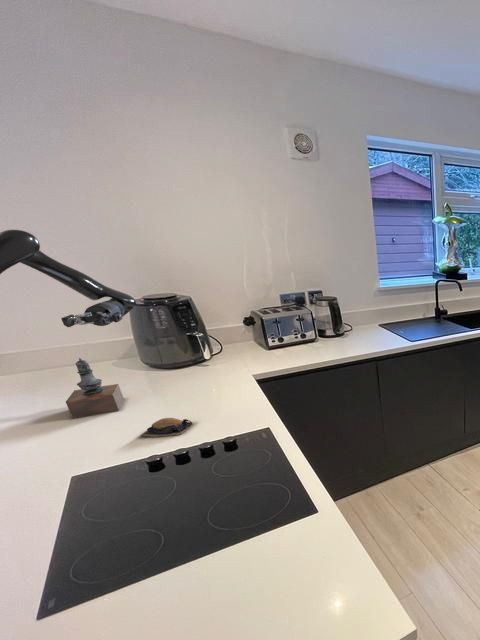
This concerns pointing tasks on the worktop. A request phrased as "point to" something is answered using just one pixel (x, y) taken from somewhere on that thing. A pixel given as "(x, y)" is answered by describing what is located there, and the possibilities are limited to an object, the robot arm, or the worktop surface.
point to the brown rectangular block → (95, 401)
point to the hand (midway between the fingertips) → (84, 323)
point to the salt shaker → (88, 379)
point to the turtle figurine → (168, 427)
